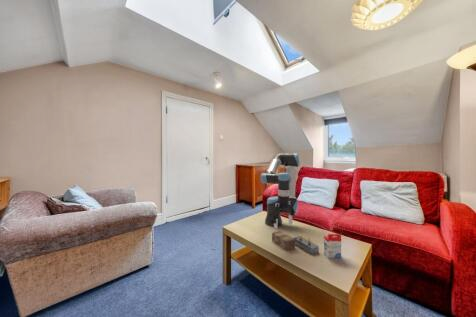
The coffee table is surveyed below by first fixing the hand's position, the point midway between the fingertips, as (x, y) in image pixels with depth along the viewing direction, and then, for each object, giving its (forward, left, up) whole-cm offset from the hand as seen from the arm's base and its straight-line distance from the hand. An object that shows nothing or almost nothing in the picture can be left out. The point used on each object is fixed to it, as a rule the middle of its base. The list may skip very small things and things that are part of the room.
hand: (283, 226), depth 124 cm
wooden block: (0, 0, -13) cm, 13 cm away
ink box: (+25, +17, -13) cm, 33 cm away
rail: (+10, +10, -13) cm, 20 cm away
